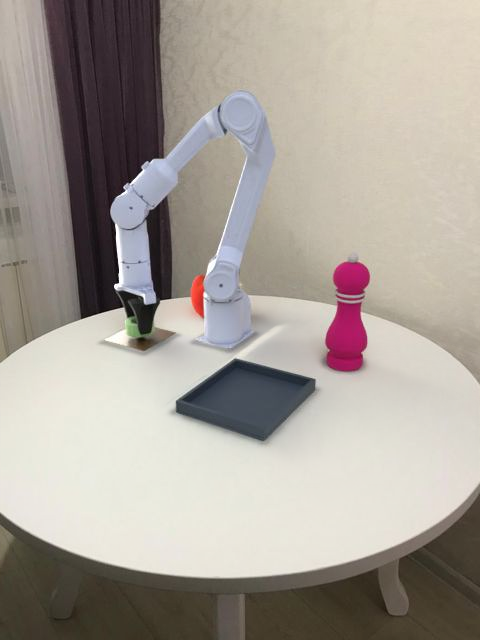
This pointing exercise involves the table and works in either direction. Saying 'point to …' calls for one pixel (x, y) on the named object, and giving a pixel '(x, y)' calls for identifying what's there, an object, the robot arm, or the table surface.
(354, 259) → the pepper mill
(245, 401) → the tray
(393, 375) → the table surface
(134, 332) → the ring
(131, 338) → the stand
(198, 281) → the tomato
